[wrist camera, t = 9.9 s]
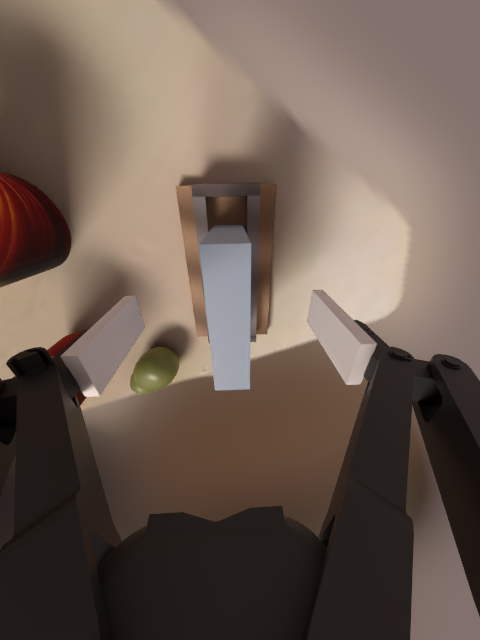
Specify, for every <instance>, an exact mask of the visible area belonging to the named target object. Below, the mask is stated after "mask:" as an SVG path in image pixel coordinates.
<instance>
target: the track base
mask: <svg viewBox="0 0 480 640" xmlns="http://www.w3.org/2000/svg"><path fill="white" fill-rule="evenodd" d="M176 191H177V198H178V205H179V212H180V219H181V225H182V232H183V239H184V246H185V253H186V260H187V267H188V274H189V281H190V288H191V295H192V302H193V309H194V316H195V323H196V330H197V336H208V341H209V343H210V340H209V331H208V322H207V313H206V304H205V294H204V285H203V276H202V267H201V258H200V249H199V244H200V243H201V241H202V240H203V239H204V238H205V236H206V235H207V234H208V233H209V231H210V230H211V229H212V228H213V226H214V225H243V227H244V229H245V232H246V234H247V236H248V238H249V240H250V242H251V314H250V342H256V334H267V328H268V312H269V295H270V279H271V262H272V246H273V229H274V213H275V196H276V184H261V185H260V183H228V184H191V186H176Z"/></svg>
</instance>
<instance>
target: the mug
mask: <svg viewBox="0 0 480 640" xmlns="http://www.w3.org/2000/svg"><path fill="white" fill-rule="evenodd" d="M70 249H71V237H70V232H69V229H68V226H67V223H66V221H65V219H64V217H63V216H62V214H61V212H60V211H59V209H58V208H57V207H56V205H55V204H54V203H53V202H52V201H51V200H50V199H49V198H48V197H47V196H46V195H45V194H44V193H43V192H42V191H41V190H39V189H38V188H37V187H36V186H34V185H32V184H31V183H29V182H27V181H26V180H24V179H21V178H19V177H16V176H14V175H10V174H6V173H0V287H3V286H6V285H8V284H11V283H14V282H17V281H19V280H22V279H25V278H28V277H30V276H33V275H36V274H39V273H41V272H44V271H47V270H50V269H52V268H55V267H57V266H59V265H61V264H62V263H63V262H64V261H65V260H66V259H67V257H68V255H69V252H70Z"/></svg>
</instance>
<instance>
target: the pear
mask: <svg viewBox="0 0 480 640" xmlns="http://www.w3.org/2000/svg"><path fill="white" fill-rule="evenodd" d="M178 369H179V359H178V356H177V355H176V353H175V352H174V351H172V350H171V349H169V348H166V347H155V348H152V349H150V350H149V351H147V352H146V353H145V354H144V355H143V356H142V357H141V358H140V359H139V361H138V362H137V364H136V366H135V368H134V371H133V374H132V376H131V380H130V387H131V389H132V390H133V391H134V392H136V393H137V394H142V395H144V394H149V393H151V392H153V391H155V390H157V389H161V388H163V387H165V386H167V385H168V384H169V383H170V382H171V381H172V380H173V379H174V377H175V376H176V374H177V372H178Z"/></svg>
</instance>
